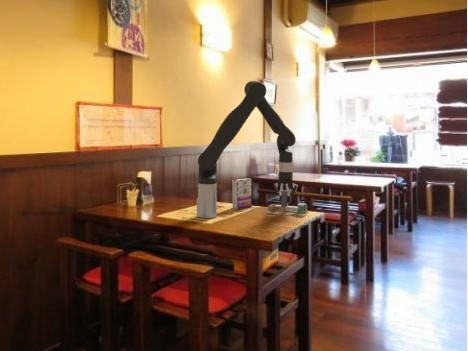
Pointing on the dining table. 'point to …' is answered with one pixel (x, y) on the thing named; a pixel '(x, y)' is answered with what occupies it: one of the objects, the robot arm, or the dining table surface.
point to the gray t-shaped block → (285, 204)
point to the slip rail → (281, 211)
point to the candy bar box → (242, 193)
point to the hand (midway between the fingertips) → (284, 202)
